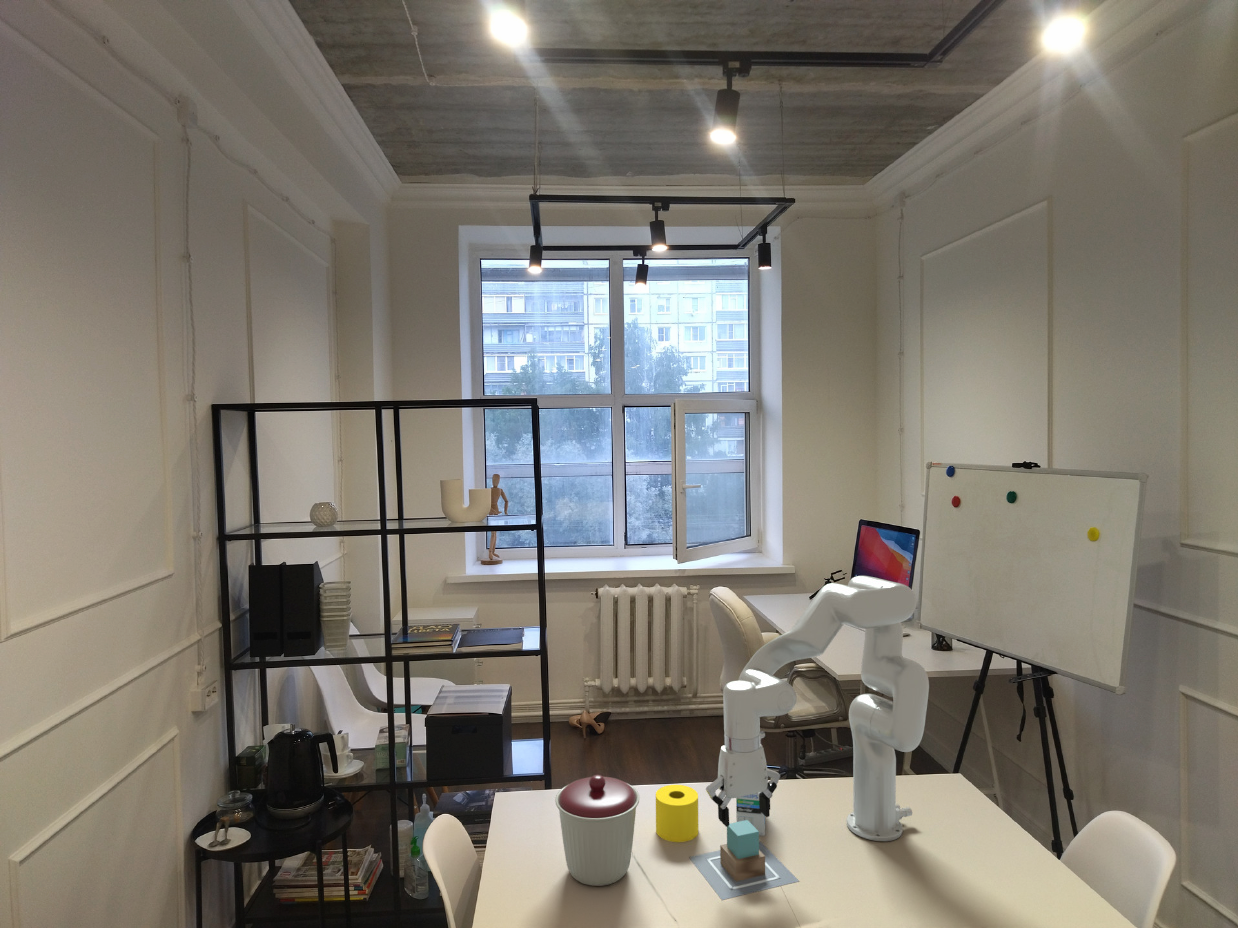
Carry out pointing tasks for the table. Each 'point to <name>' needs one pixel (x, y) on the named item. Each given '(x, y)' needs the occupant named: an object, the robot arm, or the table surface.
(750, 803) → the light bulb box
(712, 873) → the grey mat
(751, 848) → the teal block
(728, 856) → the walnut block
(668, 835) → the yellow hollow cylinder
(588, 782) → the canister
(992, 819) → the table surface
